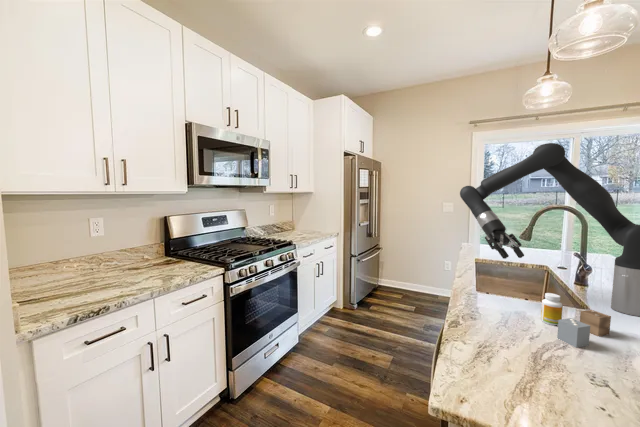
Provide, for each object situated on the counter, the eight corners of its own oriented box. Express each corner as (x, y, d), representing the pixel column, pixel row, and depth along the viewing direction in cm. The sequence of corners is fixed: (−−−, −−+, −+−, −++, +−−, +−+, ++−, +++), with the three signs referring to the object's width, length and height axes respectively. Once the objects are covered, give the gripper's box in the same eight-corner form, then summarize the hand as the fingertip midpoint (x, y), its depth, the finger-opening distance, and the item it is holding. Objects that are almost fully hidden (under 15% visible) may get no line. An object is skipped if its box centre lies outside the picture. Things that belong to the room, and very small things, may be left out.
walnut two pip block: (590, 327, 90) (591, 309, 89) (609, 334, 85) (611, 315, 84) (579, 328, 88) (580, 310, 88) (598, 336, 84) (599, 317, 83)
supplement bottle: (565, 327, 89) (567, 298, 89) (546, 325, 90) (548, 297, 90) (554, 319, 95) (556, 292, 94) (537, 318, 96) (539, 291, 95)
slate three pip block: (569, 336, 83) (570, 317, 83) (588, 345, 78) (590, 325, 78) (557, 338, 82) (558, 319, 82) (576, 347, 77) (577, 327, 77)
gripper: (484, 218, 109) (508, 252, 100) (509, 218, 114) (535, 251, 104) (471, 229, 115) (493, 262, 105) (496, 229, 119) (519, 261, 110)
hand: (514, 257), depth 105 cm, fingers open, 8 cm apart
